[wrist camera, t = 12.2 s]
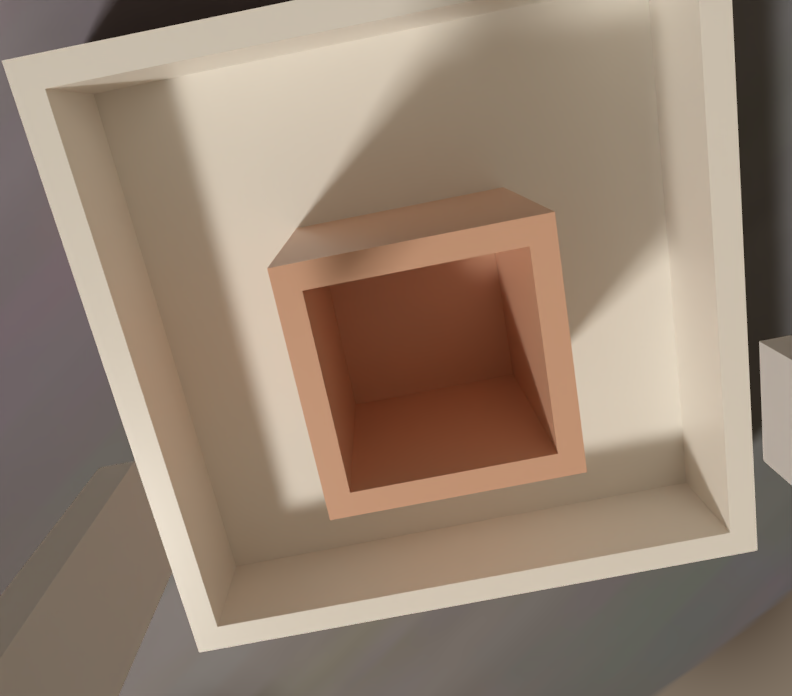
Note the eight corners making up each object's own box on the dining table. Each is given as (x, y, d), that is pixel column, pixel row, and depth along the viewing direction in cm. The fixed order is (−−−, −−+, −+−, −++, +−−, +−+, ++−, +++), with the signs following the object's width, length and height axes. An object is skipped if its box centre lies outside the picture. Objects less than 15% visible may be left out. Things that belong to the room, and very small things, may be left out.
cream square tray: (68, 72, 26) (1, 61, 22) (662, -50, 26) (727, -90, 21) (224, 575, 33) (199, 652, 28) (700, 487, 32) (757, 550, 28)
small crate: (296, 227, 27) (267, 268, 20) (503, 187, 27) (554, 211, 20) (341, 418, 30) (330, 520, 22) (531, 382, 30) (587, 472, 22)
